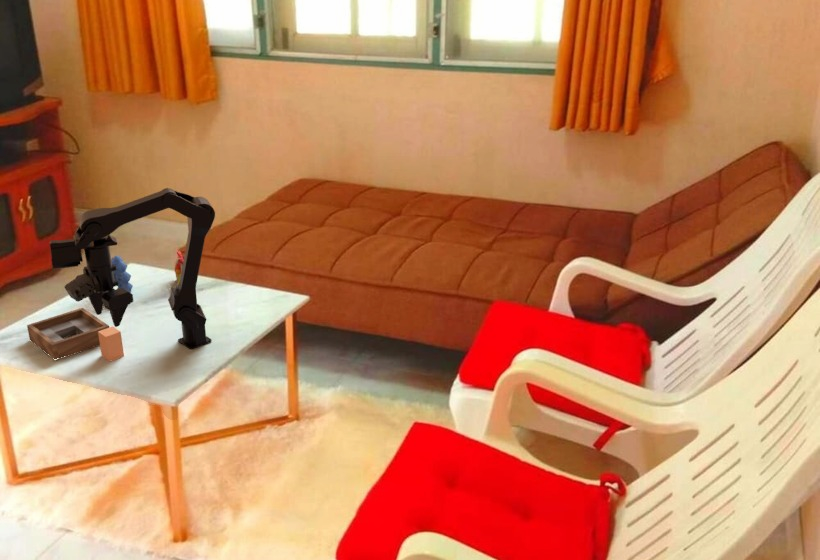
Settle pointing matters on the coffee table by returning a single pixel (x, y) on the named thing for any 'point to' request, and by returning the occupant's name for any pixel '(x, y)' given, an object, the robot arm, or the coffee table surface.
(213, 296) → the coffee table surface
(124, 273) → the grapes
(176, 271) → the bird rattle
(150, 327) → the coffee table surface
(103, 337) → the peg
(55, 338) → the socket box
